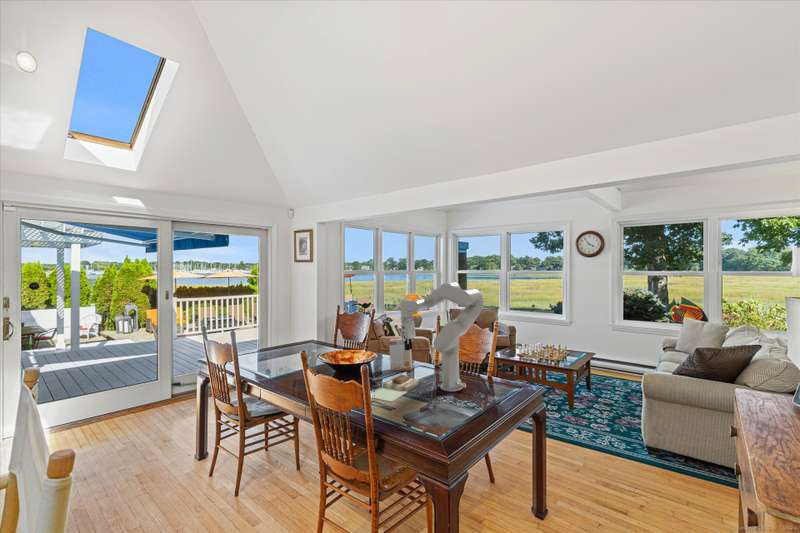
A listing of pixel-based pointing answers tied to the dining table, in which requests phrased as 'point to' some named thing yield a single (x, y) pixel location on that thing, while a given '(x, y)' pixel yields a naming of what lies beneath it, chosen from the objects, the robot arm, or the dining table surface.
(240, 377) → the dining table surface
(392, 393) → the mat
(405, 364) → the cracker box
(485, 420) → the dining table surface
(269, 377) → the dining table surface
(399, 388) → the deck
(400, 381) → the tile
